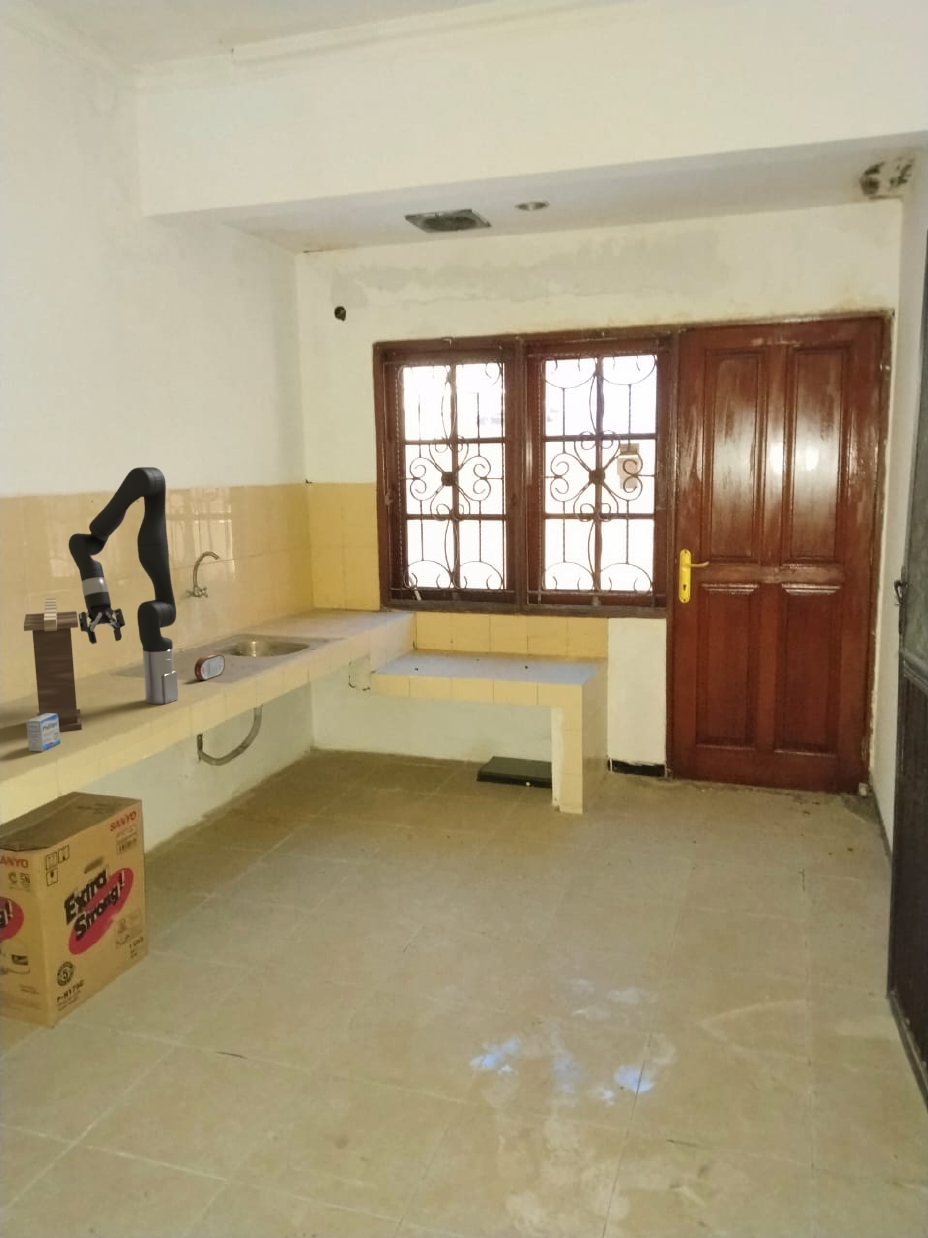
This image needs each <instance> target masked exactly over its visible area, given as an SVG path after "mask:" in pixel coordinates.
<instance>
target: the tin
mask: <svg viewBox="0 0 928 1238" xmlns="http://www.w3.org/2000/svg"><path fill="white" fill-rule="evenodd" d="M225 666H226V658H225V657H224V655H223V654H221V653H217V652H214V653H209V654H207V655H203V656H200V657H199V658H198V659H197V661H196V663H195V665H194V676H195V678H196V679H197V680H201V681H202V680H203V681H207V680H210V679H214V678H216V677H220V675H222V674H223V672H224V671H225V668H226V667H225Z"/></svg>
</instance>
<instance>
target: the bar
mask: <svg viewBox="0 0 928 1238" xmlns="http://www.w3.org/2000/svg"><path fill="white" fill-rule="evenodd" d="M57 609H58V607H57V598H45V601H44V628H45V631H57V612H58V610H57Z"/></svg>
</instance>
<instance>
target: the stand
mask: <svg viewBox="0 0 928 1238" xmlns="http://www.w3.org/2000/svg"><path fill="white" fill-rule="evenodd" d="M23 621H24V622H23V631H24V632H30V631H32V641H33V642H32V643H33V654H34V656H33V657H34V665H35V666H34V667H35V679H36V689H37V691H36V693H37V702H38V712H37V715H36V717H37V716H40V715H42V714H44V713H54V714H58V722H59V733H62V732H68V731H69V732H70V731H79V730H82V729H83V728H82V726H83V725H82V716H81V715H82V714H81V708H77V696H76V683H75V681H76V680H75V670H74V668H75V667H74V655H73V653H74V652H73V644H72V630H71V629H74V628H79V622H78V621H79V618H78V613H77V610H74V611H61V612H60V611H59V612H58V611H57V631H45V628H44V613H43V612H42V613H41V612H40V613H26V614H25V617H24V620H23Z"/></svg>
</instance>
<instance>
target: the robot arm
mask: <svg viewBox="0 0 928 1238" xmlns="http://www.w3.org/2000/svg"><path fill="white" fill-rule="evenodd" d="M166 483H167V482H166V478H165V476H164V473H163V472H162V471H161V469H159V468H157V467H152V466H150V467H149V466H145V467H144V466H140V467H139V466H138V467H134V468H133V469H131V470H130V471H129V472H128V473H127V474H126V476H125V477H124V479H123V481H122V482H121V484H120V485H119V487H118V489H117V490H116V491H115V493H114V495H113V496H112V497H111V498H110V500H109V502H108V503H107V504H106V505H105V506H104V508H103V509H102V510H101V511H100V512H99V513H98V514H97V515H96V516H95V517H94V518H93V519H92V520H91V522H90V523H89V524H88V529H89V532H90V533H79V532H78V533H74V534H72V535H71V536H70V537H69V540H68V550H69V553H70V555H71V558H72V559H73V561H74V563H75V564H76V567H77V568H78V570H79V574H80V575H79V576H80V581H81V588H82V594H83V599H84V602H85V606H86V607H85V608H86V610H87V612H85V611H82V612H80V613H78V621H79V622H78V623H79V628H80V632H85V633H87V636H88V641H89V642H90V644H92V645H94V644H95V645H96V644H97V642H98V641H97V636H96V631H95V629H96V626H99V625H108V626H110V627H111V628H112V629H113V635H114V638H115V642H119V641H121V640H122V631H121V628H122V627H125V625H126V622H125V619H124V615H123V611H122V609H121V608H119V607H118V608H116V609H112V603H111V602H112V601H111V599H110V593H109V588H108V583H107V582H106V578H105V574H104V569H103V565H102V563H101V562H100V561H97V560H96V559H94V558H92V556H96V555H98V554H100V553H101V552H102V551H103V549H104V548H105V546H106V544H107V542H108V540H109V538H110V536H111V535H112V534H113V533H114V532H115V531H116V530H117V529H118V528H119V527H120V526H121V524H122V522H123V521H124V519H125V517H126V513H127V510H128V509H129V508H130V506H131V505H133V503H135V502H136V501H138V500H140V499H141V498H143V502H144V503H143V504H144V515H143V519H142V521H141V525H140V527H139V530H138V532H137V538H136V539H137V540H136V543H137V555H138V561H139V562H140V565H141V566H142V568H143V570H144V572H145V573H146V574H147V576H148V577H149V579H150V580H151V583H152V585H153V590H154V599H153V600H148V601H147V600H146V601H144V602H141V603H140V604H139V606H138V608H137V613H136V614H137V627H138V634H139V635H138V636H139V640H140V644H141V646H142V657H143V658H142V659H143V660H142V661H143V675H144V676H143V677H144V678H143V679H144V691H145V703H148V704H153V705H154V704H155V705H158V704H159V705H160V704H169V703H172V702H174V701H178V700H179V693H178V689H179V688H178V675H177V671H176V670H175V666H174V663H175V662H174V651H173V650H174V645H173V641H172V639H171V638H168V637H164V636H163V635H162V633H161V632H162V631H161V629H162V628H166V627H167V628H168V627H170V626H172V625H174V623H175V621H176V619H177V607H176V602H175V601H176V600H175V595H174V591H173V589H174V588H173V584H172V578H171V571H170V570H171V568H170V553H169V551H170V550H169V542H168V535H167V534H168V532H167V518H166V517H167V516H166V500H167V499H166V494H167V493H166V490H167V485H166ZM113 616H114V617H113ZM88 619H89V620H90V621H89V623H88Z"/></svg>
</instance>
